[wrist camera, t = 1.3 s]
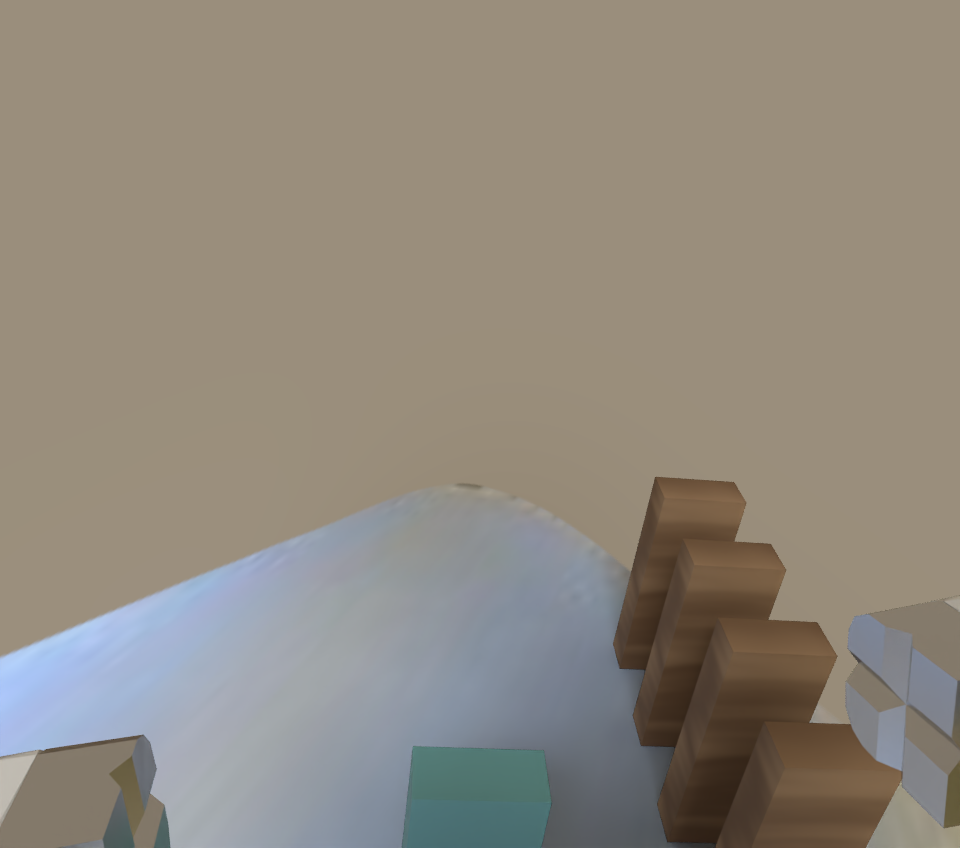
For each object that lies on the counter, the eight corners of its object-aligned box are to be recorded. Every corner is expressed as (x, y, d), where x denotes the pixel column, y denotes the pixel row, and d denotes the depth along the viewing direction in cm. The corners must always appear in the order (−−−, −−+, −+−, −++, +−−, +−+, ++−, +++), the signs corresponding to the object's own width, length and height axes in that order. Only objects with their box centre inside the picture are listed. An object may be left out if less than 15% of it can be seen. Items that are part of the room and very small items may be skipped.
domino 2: (692, 671, 49) (746, 503, 43) (619, 668, 49) (664, 497, 43) (683, 647, 51) (734, 482, 45) (612, 644, 50) (655, 476, 45)
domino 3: (721, 748, 44) (786, 570, 39) (640, 745, 44) (694, 564, 38) (710, 718, 46) (770, 543, 40) (632, 715, 46) (682, 538, 40)
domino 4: (757, 843, 40) (837, 656, 34) (667, 841, 39) (733, 651, 33) (743, 806, 41) (817, 622, 36) (657, 804, 41) (717, 617, 35)
